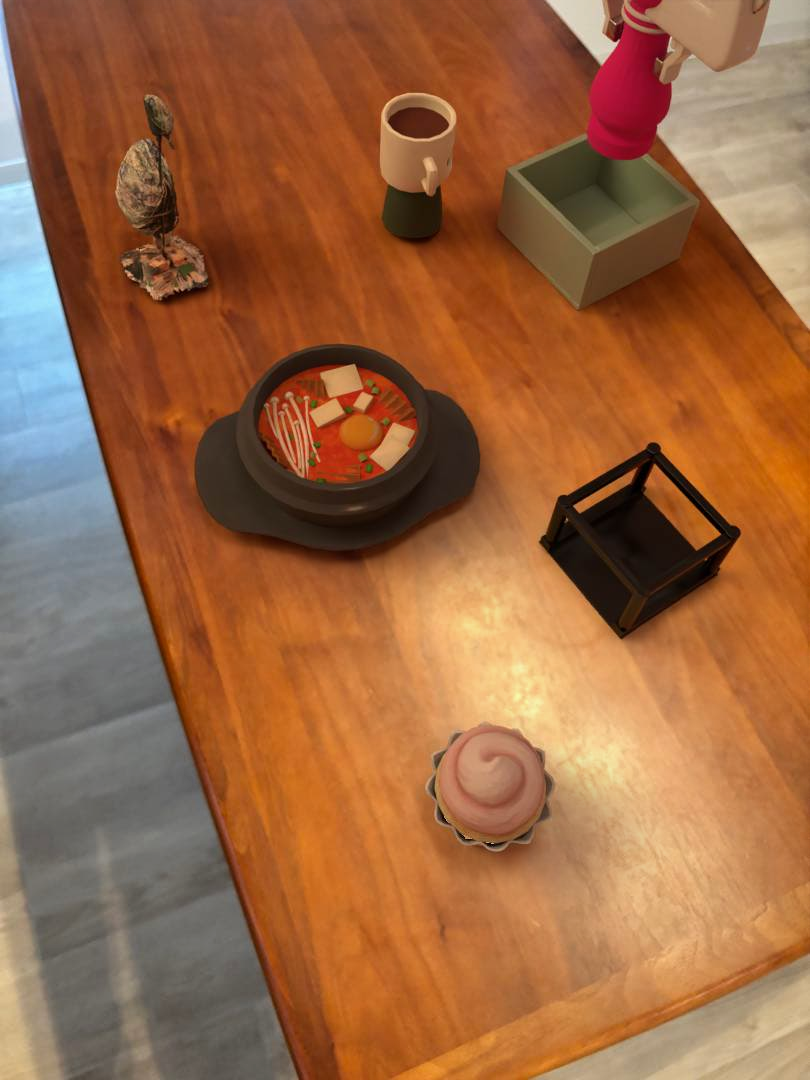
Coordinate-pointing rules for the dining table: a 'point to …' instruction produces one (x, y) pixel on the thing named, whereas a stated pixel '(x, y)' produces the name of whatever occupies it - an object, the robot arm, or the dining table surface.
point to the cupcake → (490, 786)
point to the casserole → (336, 452)
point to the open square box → (594, 218)
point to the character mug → (415, 162)
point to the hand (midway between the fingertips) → (638, 56)
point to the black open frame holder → (633, 545)
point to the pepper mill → (630, 88)
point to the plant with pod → (156, 213)
